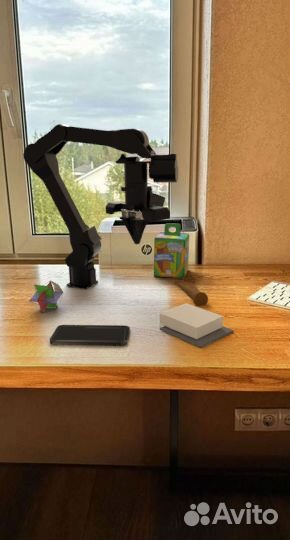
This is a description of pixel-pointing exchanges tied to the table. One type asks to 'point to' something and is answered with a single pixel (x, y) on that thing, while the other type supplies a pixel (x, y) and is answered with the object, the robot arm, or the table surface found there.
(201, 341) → the mat
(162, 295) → the table surface
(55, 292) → the geometric puzzle
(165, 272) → the chalk box
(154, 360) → the table surface
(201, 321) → the cream flat block
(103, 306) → the table surface
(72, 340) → the phone
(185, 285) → the primitive tool
